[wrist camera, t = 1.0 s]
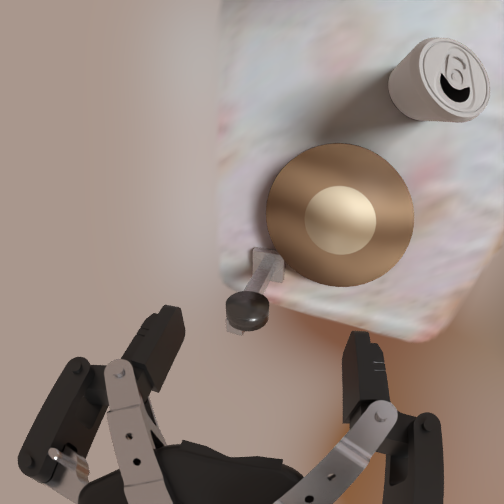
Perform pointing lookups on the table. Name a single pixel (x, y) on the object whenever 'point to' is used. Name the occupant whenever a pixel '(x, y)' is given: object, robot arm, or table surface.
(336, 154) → the disc
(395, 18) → the table surface
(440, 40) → the beverage can
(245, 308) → the stand
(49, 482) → the robot arm
